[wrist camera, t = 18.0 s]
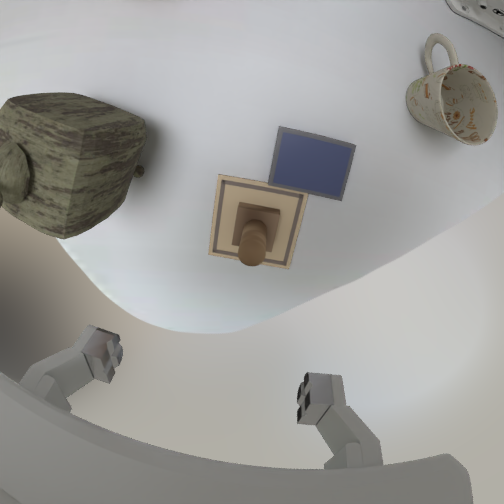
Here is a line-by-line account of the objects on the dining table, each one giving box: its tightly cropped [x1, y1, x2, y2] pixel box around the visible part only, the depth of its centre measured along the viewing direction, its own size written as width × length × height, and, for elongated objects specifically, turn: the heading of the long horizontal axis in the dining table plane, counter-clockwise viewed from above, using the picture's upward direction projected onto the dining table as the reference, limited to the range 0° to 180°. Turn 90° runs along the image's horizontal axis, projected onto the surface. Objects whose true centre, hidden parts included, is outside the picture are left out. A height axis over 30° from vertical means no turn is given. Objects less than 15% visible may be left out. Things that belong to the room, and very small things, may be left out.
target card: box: [208, 174, 308, 269], centre depth 36 cm, size 11×11×1 cm
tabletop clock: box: [0, 93, 147, 239], centre depth 21 cm, size 14×9×25 cm, turn 62°
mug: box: [406, 33, 498, 145], centre depth 21 cm, size 8×13×10 cm, turn 13°
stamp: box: [232, 202, 280, 266], centre depth 32 cm, size 5×5×8 cm
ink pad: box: [268, 126, 356, 201], centre depth 31 cm, size 9×7×2 cm
